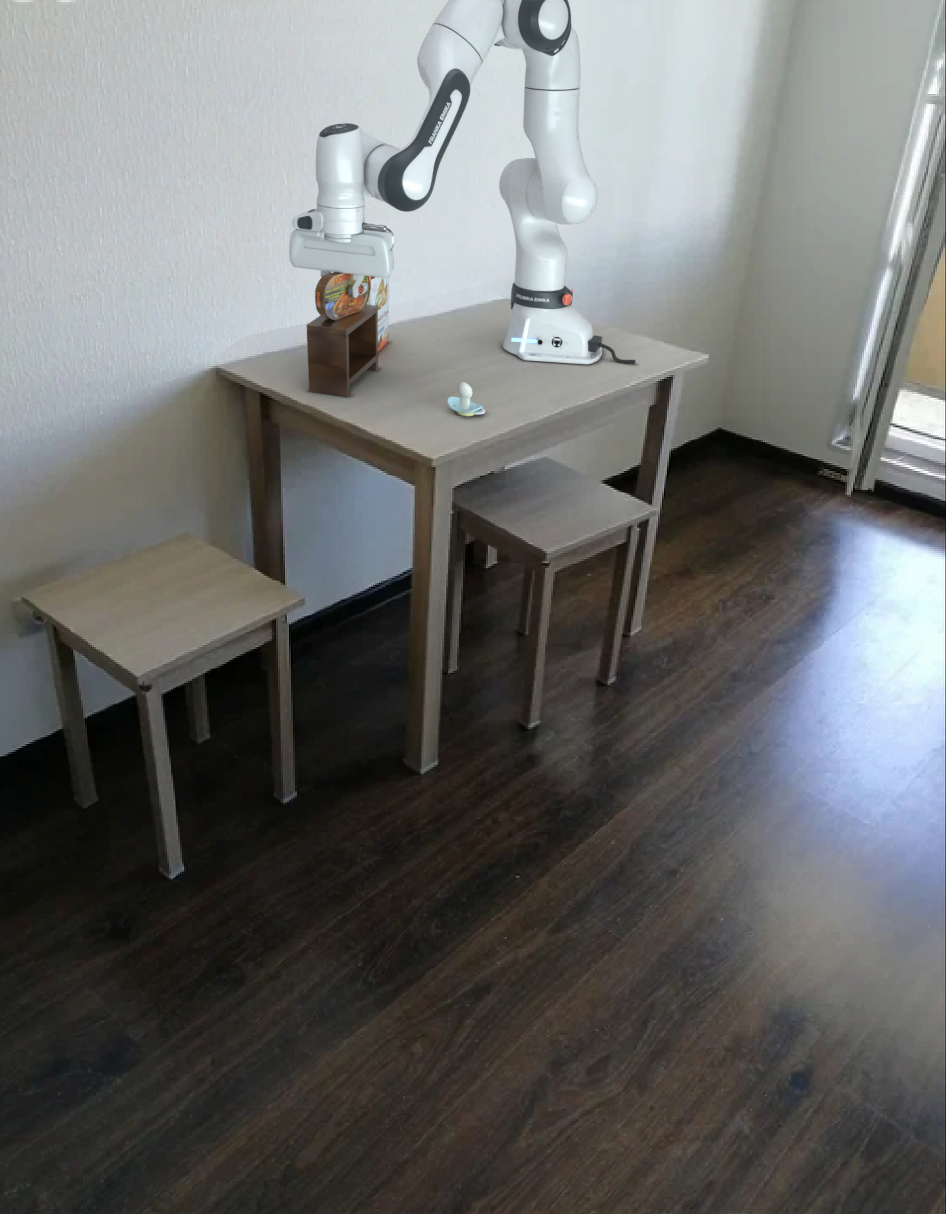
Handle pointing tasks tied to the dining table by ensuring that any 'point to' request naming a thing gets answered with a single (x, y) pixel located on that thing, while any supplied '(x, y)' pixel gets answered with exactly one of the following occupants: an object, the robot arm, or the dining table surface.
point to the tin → (340, 295)
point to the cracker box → (380, 306)
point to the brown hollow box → (341, 350)
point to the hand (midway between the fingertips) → (342, 295)
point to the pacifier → (465, 402)
